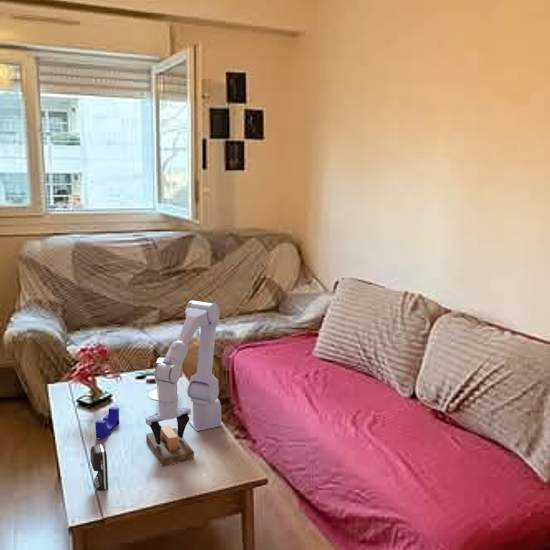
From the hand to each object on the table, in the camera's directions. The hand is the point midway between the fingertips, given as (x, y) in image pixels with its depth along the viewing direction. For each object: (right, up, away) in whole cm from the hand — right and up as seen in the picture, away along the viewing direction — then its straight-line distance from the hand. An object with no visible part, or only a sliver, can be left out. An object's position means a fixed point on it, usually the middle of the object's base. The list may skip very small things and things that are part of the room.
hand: (169, 439), depth 189 cm
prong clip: (0, -3, +1) cm, 3 cm away
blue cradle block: (-24, -1, +13) cm, 27 cm away
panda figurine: (-10, +5, +43) cm, 45 cm away
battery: (-16, -8, -20) cm, 27 cm away
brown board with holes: (0, -3, +1) cm, 3 cm away
